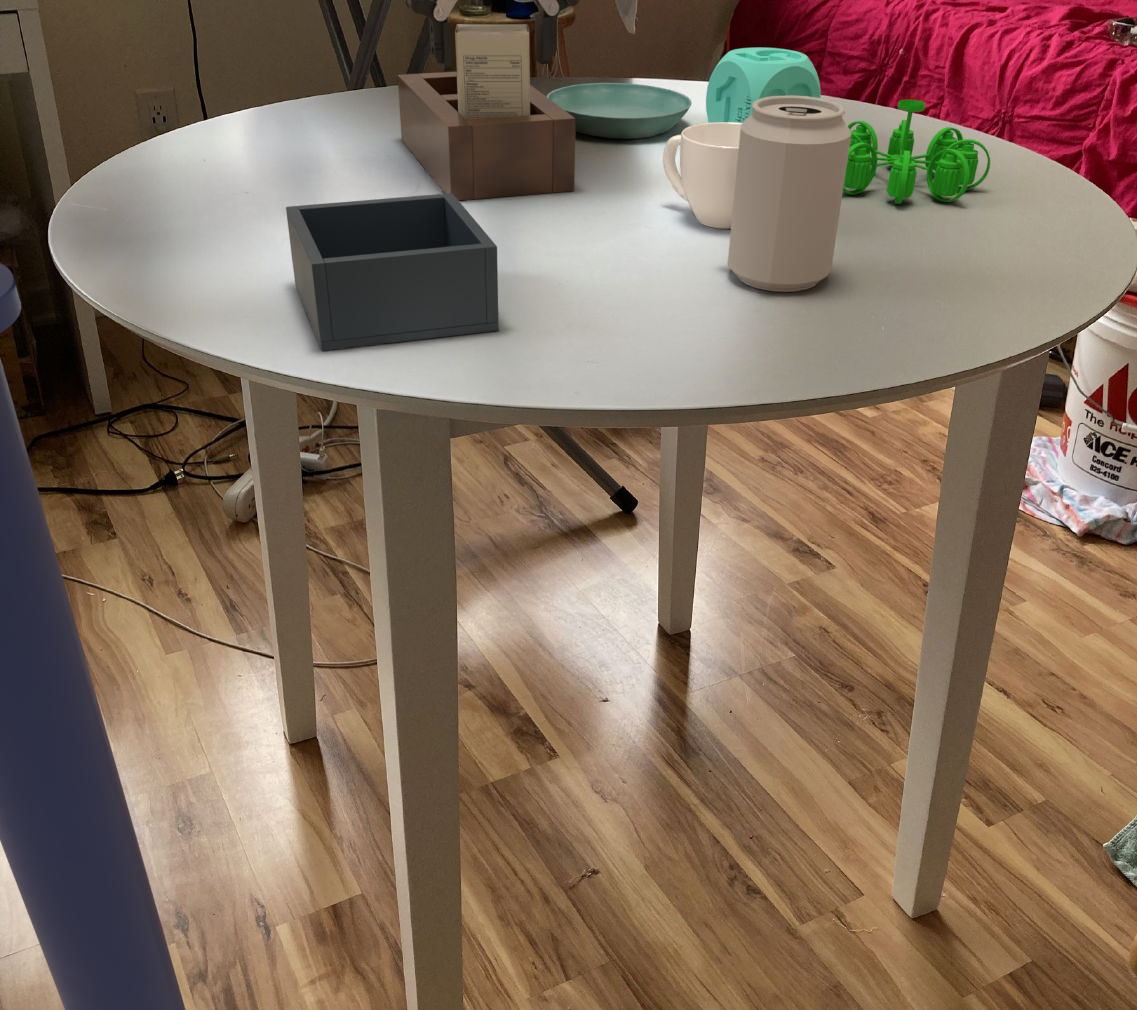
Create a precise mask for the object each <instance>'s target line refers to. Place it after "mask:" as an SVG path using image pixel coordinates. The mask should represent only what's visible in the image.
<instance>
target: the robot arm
mask: <svg viewBox="0 0 1137 1010" xmlns="http://www.w3.org/2000/svg"><path fill="white" fill-rule="evenodd" d="M532 1H533V3H534V4H535V6H536V7H537V9H538V10H537V11H538V12H534V44H535V45H534V56H535V60H536V62H537V63H539V64H540V65H550V64H551V59H552V58H551V57H556V53H557V51H558V17H559V14H560V12H561V11H563V10H565V9H566V8H567V9H568V8H570V7H575V6H577V5H578V4H579V2H580V0H532ZM457 2H458V0H404V4H405V6H406V7H407V8H408V9H409V10H411V11H412V12H413V13H414V14H417V15H422V16H425V17H427V20H428V22H429V40H430V55H431V57H432V59H433V61H434V62H435V63H436V64H438V66H439V68H440V69H441V70H442V71H444V72H447V71H453V70H454V61H453V60H454V58H453V37H452V35H453V33H452V22H451V21H450V20H449V19H448V17H449V16H450V13H451V12H452V10H453V8H454V7H455V5H456V4H457Z"/></svg>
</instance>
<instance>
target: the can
mask: <svg viewBox="0 0 1137 1010" xmlns="http://www.w3.org/2000/svg"><path fill="white" fill-rule="evenodd" d="M752 109H753V110H754V112H753V113H752V114H751V115H750V116H749V117H748V118H747V119H746V120H745V121H744V122H743V123H742V124H741V130H740V140H739V151H738V161H737V171H736V182H735V192H734V202H733V213H732V223H731V229H730V235H729V244H728V255H727V264H726V265H727V266H728V267H729V269H730V270H731V271H732V272H733V273H734V274H735V275H736V277H737V279H738V280H739V281H740V282H742V283H743V284H745V285H746V286H749V287H752V288H756V289H759V290H764V291H768V292H779V293H789V292H790V293H791V292H800V291H805V290H809V289H811V288H813V287H815V286H817V284H818V283H819V282H820V281H822V280H823V279H826V278H827V276H829V274H830V273H831V272H832V268H833V267H832V266H833V260H834V252H835V247H836V239H837V233H838V226H839V220H840V215H841V214H840V213H841V206H842V200H843V194H844V192H843V187H845V186H844V180H845V174H846V167H847V160H848V154H849V147H850V140H851V131H852V130H851V129H849V127H848V124H847V123H846V122H845V119H844V118H843V115H845V114H846V108H845V107H844V106H843V104H840V103H839V102H836V101H833V100H829V99H826V98H816V97H808V96H792V95H789V96H771V97H765V98H761V99H758V100H756V101H755V102H753V103H752Z"/></svg>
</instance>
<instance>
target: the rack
mask: <svg viewBox="0 0 1137 1010" xmlns="http://www.w3.org/2000/svg"><path fill="white" fill-rule="evenodd" d="M397 85H398V86H397V88H398V105H399V117H400V118H399V121H400V134H401V142H402V143H403V144H404V145H405V147H406V148H407V149H408V150H409V151H410V153H411V154H412V156H413V157H415V159H416V160H417V161H418V163H419V164H420V165H421V166H422V167H423V169H424V170H425V171H426V172H427V174H429V176H430V177H431V178H432V179H433V180H434V182H435V183H436V184H437V185H438V187H439V188H440V189H441V190H442V191H443V194H448V193H453V195H454V196H455V197H456V198H457V199H458V201H469V200H482V199H493V198H505V197H507V198H508V197H517V196H528V195H530V196H531V195H541V194H551V193H552V194H553V193H563V192H575V174H576V172H575V171H576V170H575V169H576V131H575V124H576V119H575V118H574V117H573V116H571V115H570V114H569V113H567V112H566V111H565V110H563V109H562V108H561V107H559V106H558V105H557V104H555V103H554V102H553V101H551V100H550V99H549V98H547V95H545V94H543V93H542V92H540V91H539V90H538V89H537V88H535V86H533V85H531V84H530V115H528V116H512V117H497V118H481V119H467V120H466V119H464V118H463V117H462V116H461V115H460V114H459V113H458V90H457V71H444V72H425V73H424V72H422V73H405V74H397Z"/></svg>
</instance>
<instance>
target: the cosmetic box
mask: <svg viewBox="0 0 1137 1010" xmlns="http://www.w3.org/2000/svg"><path fill="white" fill-rule="evenodd" d="M454 43H455V46H454V47H455V64H456V65H455V66H456V72H457V90H458V113H459V114H460V115H461V116H462V117H463V118H464V119H466V120H467V119H481V118H497V117H512V116H528V115H530V85H531V71H530V70H531V69H530V64H531V63H530V28H529V25H528V24H527V23H525V24H524V23H522V24H519V23H518V24H515V23H514V24H509V23H508V24H505V23H501V24H499V23H498V24H495V23H494V24H490V23H489V24H484V23H482V24H481V23H477V24H475V23H471V24H469V23H468V24H466V23H457V24H456V26H455V30H454Z"/></svg>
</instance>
